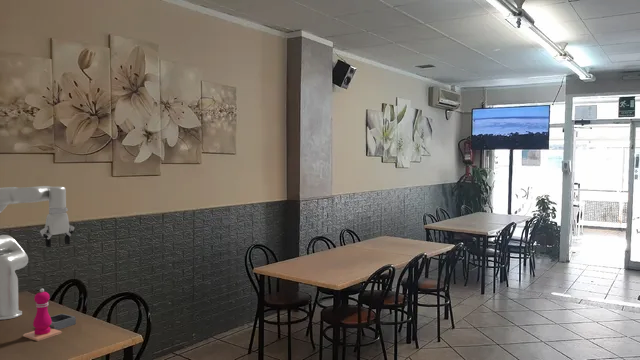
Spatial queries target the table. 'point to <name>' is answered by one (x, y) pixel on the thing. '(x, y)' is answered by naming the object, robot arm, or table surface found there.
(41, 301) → the pepper mill
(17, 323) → the table surface
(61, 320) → the holder sleeve
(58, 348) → the table surface
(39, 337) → the plate
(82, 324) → the table surface
